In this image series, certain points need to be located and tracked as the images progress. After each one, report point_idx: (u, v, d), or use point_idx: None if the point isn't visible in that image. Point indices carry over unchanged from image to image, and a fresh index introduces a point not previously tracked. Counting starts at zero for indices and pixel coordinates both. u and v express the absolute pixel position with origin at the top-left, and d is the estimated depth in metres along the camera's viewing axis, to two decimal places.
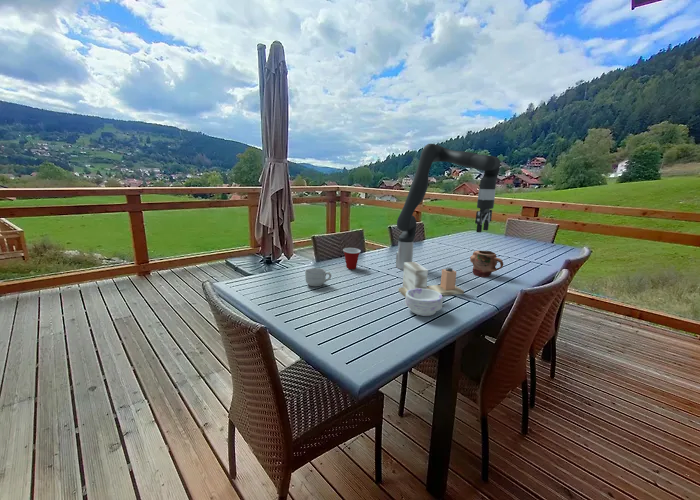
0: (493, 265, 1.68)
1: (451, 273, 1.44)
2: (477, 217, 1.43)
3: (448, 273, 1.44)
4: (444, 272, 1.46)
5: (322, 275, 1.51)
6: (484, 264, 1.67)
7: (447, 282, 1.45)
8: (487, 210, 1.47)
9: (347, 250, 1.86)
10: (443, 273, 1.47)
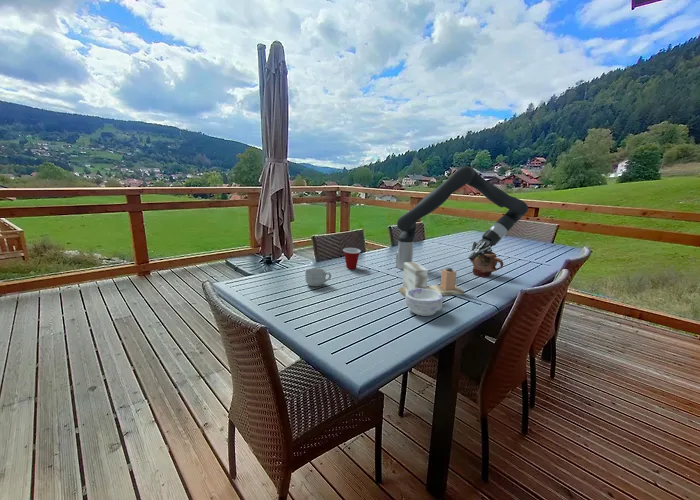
0: (493, 265, 1.68)
1: (451, 273, 1.44)
2: (484, 251, 1.43)
3: (448, 273, 1.44)
4: (444, 272, 1.46)
5: (322, 275, 1.51)
6: (484, 264, 1.67)
7: (447, 282, 1.45)
8: None
9: (347, 250, 1.86)
10: (443, 273, 1.47)
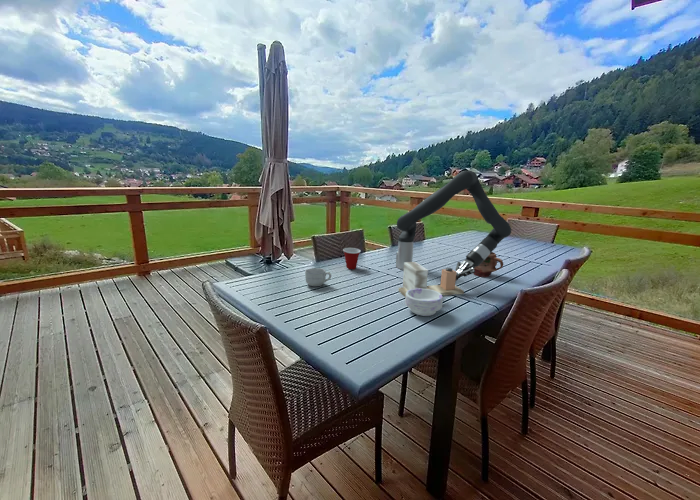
0: (493, 265, 1.68)
1: (451, 273, 1.44)
2: (467, 272, 1.44)
3: (448, 273, 1.44)
4: (444, 272, 1.46)
5: (322, 275, 1.51)
6: (484, 264, 1.67)
7: (447, 282, 1.45)
8: None
9: (347, 250, 1.86)
10: (443, 273, 1.47)
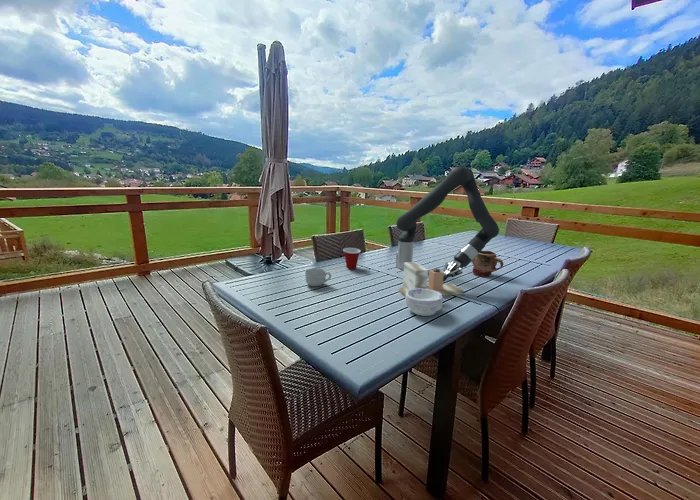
0: (493, 265, 1.68)
1: (438, 274, 1.43)
2: (455, 273, 1.42)
3: (435, 274, 1.43)
4: (431, 273, 1.45)
5: (322, 275, 1.51)
6: (484, 264, 1.67)
7: (434, 283, 1.44)
8: None
9: (347, 250, 1.86)
10: (431, 274, 1.45)
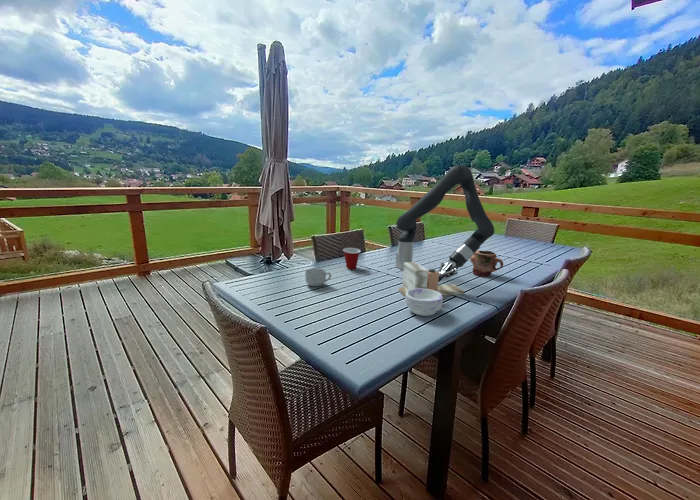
0: (493, 265, 1.68)
1: (433, 274, 1.42)
2: (450, 273, 1.42)
3: (430, 274, 1.42)
4: None
5: (322, 275, 1.51)
6: (484, 264, 1.67)
7: (429, 283, 1.43)
8: None
9: (347, 250, 1.86)
10: None
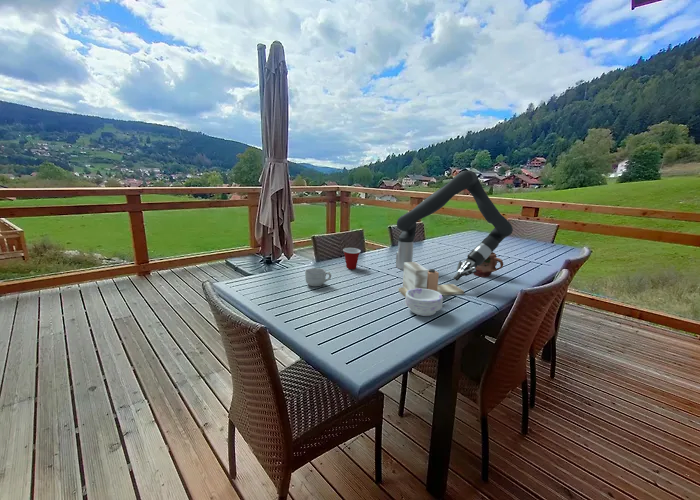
0: (493, 265, 1.68)
1: (433, 274, 1.42)
2: (469, 272, 1.44)
3: (430, 274, 1.42)
4: None
5: (322, 275, 1.51)
6: (484, 264, 1.67)
7: (429, 283, 1.43)
8: None
9: (347, 250, 1.86)
10: None
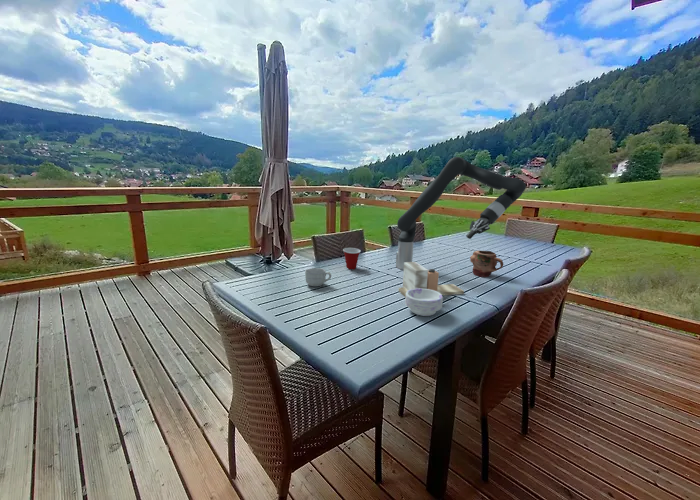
0: (493, 265, 1.68)
1: (433, 274, 1.42)
2: (482, 229, 1.44)
3: (430, 274, 1.42)
4: None
5: (322, 275, 1.51)
6: (484, 264, 1.67)
7: (429, 283, 1.43)
8: None
9: (347, 250, 1.86)
10: None
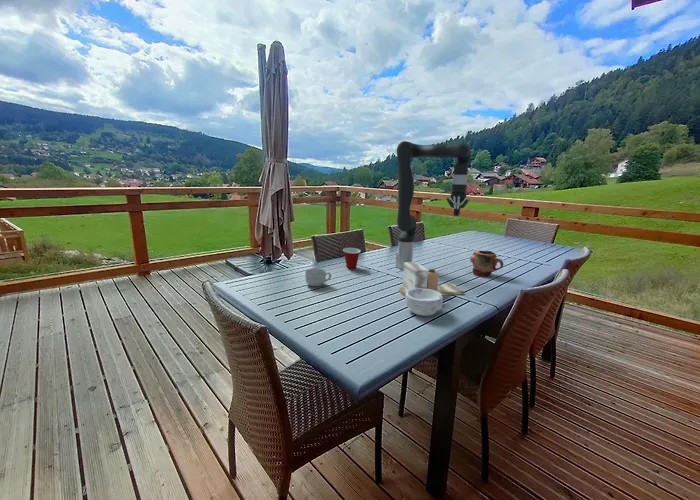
0: (493, 265, 1.68)
1: (433, 274, 1.42)
2: (465, 204, 1.59)
3: (430, 274, 1.42)
4: None
5: (322, 275, 1.51)
6: (484, 264, 1.67)
7: (429, 283, 1.43)
8: None
9: (347, 250, 1.86)
10: None
